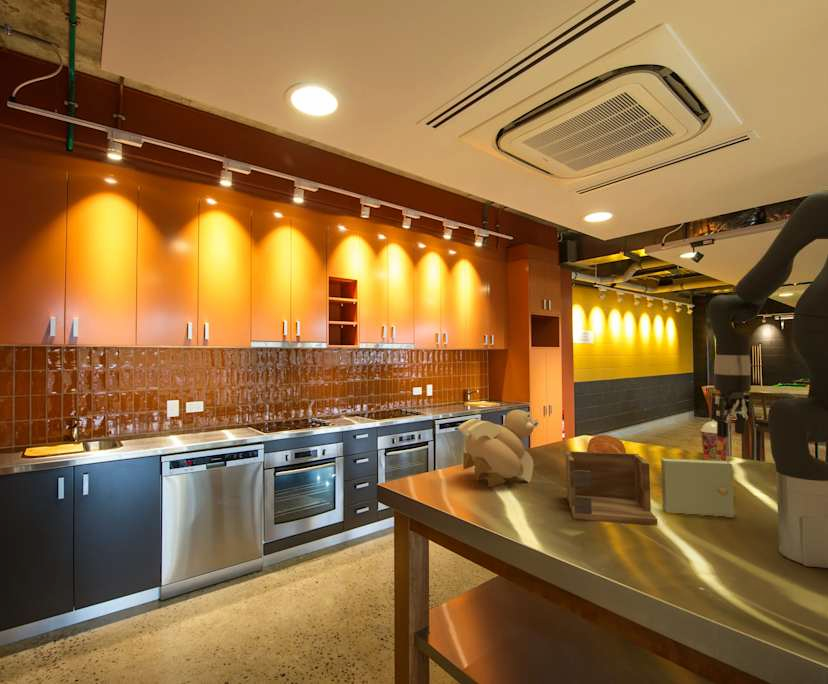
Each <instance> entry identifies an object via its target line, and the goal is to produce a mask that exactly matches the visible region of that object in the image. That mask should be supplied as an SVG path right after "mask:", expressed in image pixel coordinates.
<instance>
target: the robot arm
mask: <svg viewBox="0 0 828 684" xmlns="http://www.w3.org/2000/svg"><path fill="white" fill-rule="evenodd" d="M816 240H828V189H824V190H819V191H815V192H814V193H811V194H810V195H808V196H807V197H806V198H805V199H804V200H803V201H802V202H800V203H799V205H798V206H797V208H796V209H795V210H794V211H793V213H792V214H791V215H790V217H789V218H788V219H787V221H786V222H785V224H784V226H783V227H782V228H781V230H780V231H779V232H778V234H777V235H776V237H775V238H774V240H773V242H772V243H771V244H770V246H769V247H768V249H767V250H766V252H765V253H764V254H763V255H762V257H761V258H760V259H759V260H758V262H757V263H756V264H755V265H754V266H753V267H752V268H750V270H748V271H747V272H746V273H745V274H744V276H743V277H741V279H740V280H739V281H738V282H737V284H736V285H735V287H734V289H735V290H734V291H735V295H734V294H733V295H732V294H728V295H727V294H720V295H716V296H714V297H712V299H711V300H710V302H709V303H708V307H707V316H708V320H709V322H710V326H711V330H712V332H713V336H714V340H715V356H714V357H715V358H714V361H713V363H714V364H713V366H714V368H713V369H714V371H713V376H714V377H713V378H714V379H713V389H714V390H715V391H719V392H720V393H719V396H716V395H712V397H711V415H710V417H711V421H712V420H714V422H717V436H718V437H723V438H727V439H728V437H729V421H730V418H731V417H733V416H734V417H735V419H734V433H735V434H740V435H746V434H747V420H748V419H749V418H750V417H752V395H751V394H750V393H749V392H751V386H752V385H751V375H752V373H751V372H752V371H751V367H752V366H751V359H750V336H749V334H747V333H746V332H743V331H739V330H736V329H735V328H734V326H733V323H747V322H750V321H752V320H754V319H755V318H757V317H758V315H759V314H760V312H761V310H762V309H763V306H765V304H766V301H767V300H768V298H769V297H771V296H772V295H773V294H774V293H776V291H777V290H779V289H780V288H781V287H782V286H783V285H785V283H786V282H787V281H788V280H789V278H790V277H791V274H792V271H793V268H794V267H793V266H794V262H795V258H796V256H797V255H798V254H799V253H800V251H802V250H803V249H804V248H806V247H807V246H809V245H810V244H812V243H813V242H814V241H816ZM824 262H825V263H824V265H823V267H822V269H821V270H820V271H819V273H817V276H816V277H815V278H814V279H813V280H812V282H811V283H810V284H809V285H808V286H807V287H806V289H805V290H804V292H802V294H801V296H800V297H799V298H798V300H797V302H796V304H795V306H794V312H793V317H792V327H791V340H792V342H793V345H794V347H795V349H796V351H797V352H798V354H799V356H800V357H801V359H802V360H803V362H804V364H805V366H806V369H807V371H808V376H809V384H808V385H809V386H808V391H807V392H808V393H807V397H806V398H781V399H777V400H775V401H773V403H772V404H771V405H770V407H769V409H768V413H767V415H768V416H767V423H768V433H769V442H770V452H771V456H772V457H771V458H772V459H773V462H774V464H775V478H776V479H775V480H776V499H777V500H776V501H777V502H776V503H777V507H776V508H777V525H778V526H777V529H778V543H779V544H778V545H779V547H778V548H779V549H778V550H779V553H780V554H781V555H782V556H783V557H785V558H787V559H789V560H792V561H794V562H797V563H800V564H802V565H803V566H805V567H812V568H813V567H815V568H825V569H828V461H825V460H823V459H820V458H817V457H815V456H813V455H812V454H811V452H810V445H809V443H814V444H815V443H817V444H818V443H819V444H820V443H828V255H827V257H826V259H825V261H824Z"/></svg>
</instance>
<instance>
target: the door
mask: <svg viewBox="0 0 828 684" xmlns="http://www.w3.org/2000/svg"><path fill="white" fill-rule="evenodd" d="M660 463H661V464H660V465H661V469H660V470H661V495H662V497H661V498H662V500H661V501H662V510H663V509H664V510H665V511H666V512H675V513H686V514H685V515H689V514H701V515H700V516H704V515H714V516H713V517H718V516H725V517H724V518H732V517H733V518H735V512H734V511H735V510H734V485H733V482H734V481H733V464H732V463H731V462H729V461H727V460H726V461H707V460H704V459H703V460H702V459H684V458H683V459H682V458H681V459H678V458H677V459H676V458H661V459H660ZM664 510H663V511H664ZM665 511H664V512H665ZM666 512H665V513H666ZM675 513H674V514H675Z"/></svg>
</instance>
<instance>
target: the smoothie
mask: <svg viewBox="0 0 828 684" xmlns="http://www.w3.org/2000/svg"><path fill="white" fill-rule="evenodd" d="M700 438H701V446H702V455H703V456H702V457H703V460H708V459H710V458H717V459H722V460H724V461H727V439H728V437H727V438H723V437H718V436H717V422H716V421H715V420H712V419H711V421H707V422H705V423H704V424H703V425H702V427H701V429H700Z"/></svg>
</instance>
